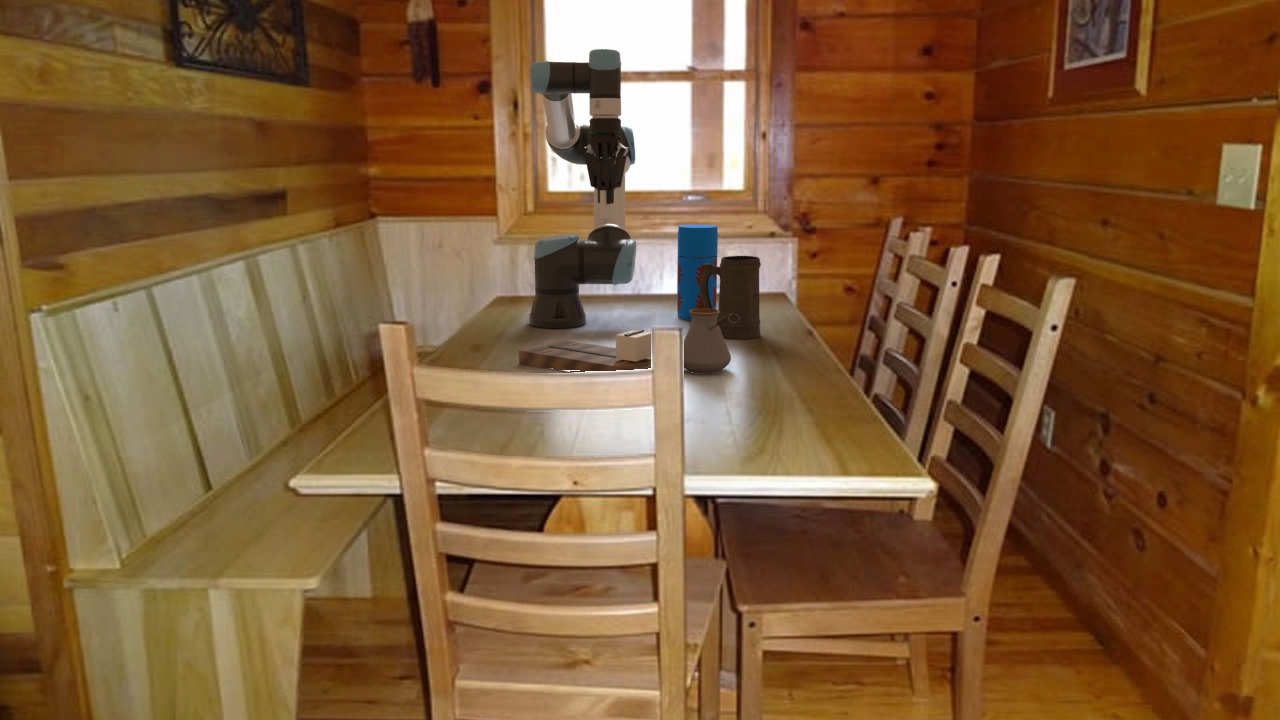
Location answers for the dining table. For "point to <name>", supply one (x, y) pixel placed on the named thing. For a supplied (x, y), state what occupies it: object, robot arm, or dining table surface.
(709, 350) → the coffee pot
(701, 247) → the thermos
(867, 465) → the dining table surface
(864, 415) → the dining table surface
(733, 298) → the beer stein
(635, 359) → the fader knob
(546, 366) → the fader panel
